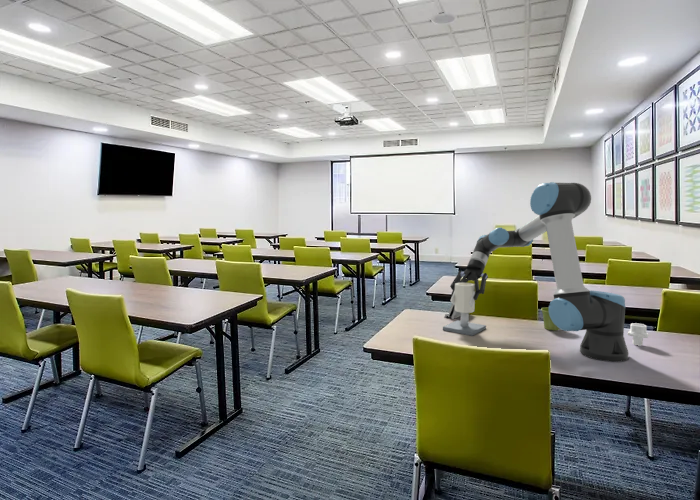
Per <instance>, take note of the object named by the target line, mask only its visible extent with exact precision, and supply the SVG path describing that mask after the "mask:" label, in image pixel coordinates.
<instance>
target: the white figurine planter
mask: <svg viewBox="0 0 700 500" xmlns="http://www.w3.org/2000/svg"><path fill="white" fill-rule="evenodd" d="M629 328H630V329H629V330H628V332H627V335H628V336H630V337H632V345H633V344H634V345H633V346H635V345H638V346H637V347H642V346H643V344H644V339H648V337H649V333H648V332H647V329H648V327H647V325H646V324H644V323H637V322H635V323H633V322H632V323H630V327H629ZM641 345H642V346H641Z"/></svg>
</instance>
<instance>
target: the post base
mask: <svg viewBox="0 0 700 500" xmlns="http://www.w3.org/2000/svg"><path fill="white" fill-rule="evenodd" d="M469 315H470V313H461V316H460V320H458V319H457V320H455V321H453V322H450V323H449V324H446V325H444V326H442V330H443V331H446V332H452V333H456V334H461V335H467V336H471V337H472V336H475V335H477V334H478V333H481V332H482V331H484V330H486V329H487V325H486V324H481V323H475V322H469Z"/></svg>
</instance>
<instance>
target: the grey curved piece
mask: <svg viewBox="0 0 700 500" xmlns="http://www.w3.org/2000/svg"><path fill="white" fill-rule="evenodd" d="M454 307H455V302H454V304H452V303H451V304H450V307H449V309H448V312H447V313H449V314H447V313H445V314H444V317H445V318H447V316H448V318H450V319H452V320H455V319H457V318H459V317H461V312H457V311H455V310H454ZM456 317H457V318H456ZM454 318H455V319H454Z"/></svg>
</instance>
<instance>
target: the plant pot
mask: <svg viewBox="0 0 700 500" xmlns="http://www.w3.org/2000/svg"><path fill="white" fill-rule="evenodd" d="M540 311H541V312H542V317H543V327H544V329H545V330H548V331H549V330H550V331H553V332H554V331H559V330H560V329H559V328H558V327H557V326H556V325H555V324H554V323H553V322H552V320H551V318H550V315H549V307H541V309H540Z"/></svg>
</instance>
